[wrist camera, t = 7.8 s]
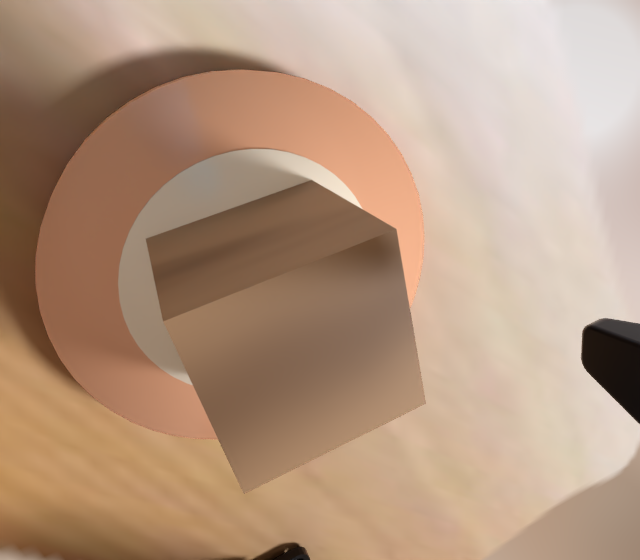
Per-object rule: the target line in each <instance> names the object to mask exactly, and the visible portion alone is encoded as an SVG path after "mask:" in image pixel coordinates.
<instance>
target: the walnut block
mask: <svg viewBox="0 0 640 560" xmlns="http://www.w3.org/2000/svg"><path fill="white" fill-rule="evenodd" d="M146 243H147V248H148V252H149V257H150V262H151V267H152V272H153V276H154V281H155V286H156V291H157V295H158V300H159V305H160V310H161V314H162V319H163V323H164V325H165V327H166V329H167V331H168V333H169V335H170V337H171V340H172V342H173V344H174V346H175V348H176V350H177V352H178V355H179V357H180V359H181V361H182V363H183V365H184V367H185V369H186V372H187V374H188V376H189V378H190V380H191V382H192V384H193V387H194V389H195V391H196V393H197V395H198V397H199V399H200V401H201V404H202V406H203V408H204V410H205V412H206V414H207V416H208V419H209V421H210V423H211V425H212V427H213V429H214V431H215V433H216V436H217V438H218V440H219V442H220V444H221V446H222V448H223V450H224V453H225V455H226V457H227V459H228V461H229V463H230V465H231V468H232V470H233V472H234V474H235V476H236V478H237V480H238V482H239V485H240V487H241V489H242V491H243V493H244V494H245V493H247V492H249V491H251V490H253V489H255V488H257V487H259V486H261V485H263V484H265V483H267V482H269V481H271V480H273V479H275V478H277V477H279V476H281V475H283V474H285V473H287V472H289V471H291V470H293V469H295V468H297V467H299V466H301V465H303V464H305V463H307V462H309V461H311V460H313V459H315V458H317V457H319V456H321V455H323V454H325V453H327V452H329V451H331V450H333V449H335V448H337V447H339V446H341V445H343V444H345V443H347V442H349V441H351V440H353V439H355V438H357V437H359V436H361V435H363V434H365V433H367V432H369V431H371V430H373V429H375V428H377V427H379V426H381V425H384V424H386V423H388V422H390V421H392V420H394V419H396V418H398V417H400V416H402V415H404V414H406V413H408V412H410V411H412V410H414V409H416V408H418V407H420V406H422V405H424V404H426V402H425V396H424V390H423V384H422V378H421V372H420V366H419V360H418V354H417V348H416V342H415V336H414V330H413V324H412V318H411V312H410V306H409V301H408V295H407V289H406V283H405V277H404V271H403V265H402V259H401V253H400V247H399V241H398V235H397V229H396V228H394V227H392V226H391V225H389V224H387V223H385V222H384V221H382V220H380V219H378V218H377V217H375V216H373V215H372V214H370V213H368V212H366V211H365V210H363V209H361V208H360V207H358V206H356V205H354V204H353V203H351V202H349V201H347V200H346V199H344V198H342V197H341V196H339V195H337V194H335V193H334V192H332V191H330V190H328V189H327V188H325V187H323V186H322V185H320V184H318V183H316V182H315V181H313V180H310V181H307V182H305V183H302V184H299V185H296V186H293V187H290V188H288V189H285V190H282V191H279V192H276V193H273V194H271V195H268V196H265V197H262V198H259V199H257V200H254V201H251V202H248V203H245V204H242V205H240V206H237V207H234V208H231V209H228V210H226V211H223V212H220V213H217V214H214V215H211V216H209V217H206V218H203V219H200V220H197V221H194V222H192V223H189V224H186V225H183V226H180V227H178V228H175V229H172V230H169V231H166V232H163V233H161V234H158V235H155V236H152V237H149V238H147V239H146Z"/></svg>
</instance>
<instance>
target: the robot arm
mask: <svg viewBox="0 0 640 560" xmlns="http://www.w3.org/2000/svg"><path fill="white" fill-rule="evenodd" d="M581 360H582V364H583V366H584V368H585V369H586V371H587V372H588V373H589V374H590V375H591V376H592V377H593V378H594V379H595V380H596V381H597V382H598V383H599V384H600V385H601V386H602V387H603V388H604V389H605V390H606V391H607V392H608V393H609V394H610V395H611V396H612V397H613V398H614V399H615V400H616V401H617V402H618V403H619V404H620V405H621V406H622V407H623V408H624V409H625V410H626V411H627V412H628V413H629V414H630V415H631V416H632V417H633V418H634V419H635V420H636V421H637V422H638V423H639V424H640V324H638V323H632V322H626V321H620V320H614V319H607V318H603V319H599V320H597V321H595V322H593V323H591V324H589V325H587V326H586V327H585V328H584V329H583V333H582V353H581ZM273 560H310V558H309V556H308V553H307V551H306V549H305V548H304V547H296V548H294V549H292V550H290V551H288V552H286V553H284V554H283V555H281V556H279V557H277V558H275V559H273Z"/></svg>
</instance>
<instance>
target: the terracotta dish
mask: <svg viewBox="0 0 640 560" xmlns="http://www.w3.org/2000/svg"><path fill="white" fill-rule="evenodd" d="M310 180H313V181H315V182H316V183H318V184H320V185H322V186H323V187H325V188H327V189H328V190H330V191H332V192H334V193H335V194H337V195H339V196H341V197H342V198H344V199H346V200H347V201H349V202H351V203H353V204H354V205H356V206H358V207H360V208H361V209H363V210H365V211H366V212H368V213H370V214H372V215H373V216H375V217H377V218H378V219H380V220H382V221H384V222H385V223H387V224H389V225H391V226H392V227H394V228H396V229H397V235H398V241H399V247H400V253H401V259H402V265H403V271H404V277H405V283H406V289H407V295H408V301H409V306H410V307H411V305H412V302H413V300H414V297H415V294H416V290H417V287H418V283H419V280H420V275H421V269H422V263H423V255H424V225H423V214H422V209H421V204H420V199H419V194H418V191H417V188H416V186H415V183H414V180H413V177H412V174H411V172H410V170H409V168H408V166H407V164H406V162H405V160H404V158H403V156H402V154H401V152H400V151H399V150H398V148H397V147H396V145H395V144H394V142H393V141H392V140H391V138H390V137H389V135H388V134H387V133H386V132H385V131H384V130H383V129H382V128H381V126H380V125H379V124H378V123H377V122H376V121H375V120H374V119H373V118H372V117H371V116H370V115H369V114H367V113H366V112H365V111H363V110H362V109H361V108H360V107H358V106H357V105H356V104H355V103H353V102H352V101H350V100H349V99H347V98H345V97H343V96H342V95H340V94H338V93H337V92H335V91H333V90H331V89H330V88H327V87H324V86H322V85H319V84H317V83H314V82H312V81H309V80H307V79H304V78H300V77H295V76H291V75H287V74H282V73H278V72H267V71H255V70H240V69H237V70H220V71H209V72H204V73H199V74H194V75H190V76H185V77H181V78H178V79H176V80H173V81H170V82H167V83H165V84H162V85H159V86H156V87H154V88H152V89H150V90H149V91H147V92H145V93H143V94H141V95H139V96H137V97H136V98H134V99H132V100H130V101H128V102H127V103H126V104H124V105H123V106H122V107H120V108H119V109H118V110H116V111H115V112H114V113H112V114H111V115H110V116H108V117H107V118H106V119H105V120H104V121H103V122H102V123H101V124H100V125H99V126H98V127H97V128H96V129H95V130H94V131H93V132H92V133H91V134H90V135H89V136H88V137H87V138H86V139H85V140H84V141H83V143H82V144H81V145H80V147H79V148H78V149H77V151H76V152H75V154H74V155H73V156H72V158H71V159H70V160H69V162H68V163H67V165H66V167H65V169H64V171H63V173H62V175H61V177H60V178H59V180H58V182H57V184H56V186H55V188H54V190H53V193H52V195H51V197H50V200H49V203H48V206H47V209H46V212H45V215H44V218H43V221H42V224H41V227H40V232H39V238H38V244H37V250H36V263H35V285H36V291H37V297H38V304H39V310H40V314H41V317H42V320H43V323H44V326H45V329H46V332H47V335H48V337H49V339H50V341H51V343H52V345H53V347H54V349H55V351H56V353H57V355H58V356H59V358H60V360H61V361H62V363H63V364H64V365H65V367H66V368H67V369H68V371H69V372H70V373H71V375H72V376H73V378H74V379H75V380H76V381H77V382H78V383H79V384H80V385H81V386H82V387H83V388H84V389H85V390H86V391H87V392H88V393H89V394H90V395H91V396H92V397H93V398H95V399H96V400H97V401H99V402H100V403H101V404H103V405H104V406H105V407H107V408H108V409H110V410H111V411H113V412H114V413H116V414H118V415H120V416H122V417H123V418H125V419H127V420H129V421H131V422H133V423H135V424H138V425H141V426H143V427H146V428H148V429H151V430H153V431H157V432H161V433H165V434H169V435H173V436H179V437H186V438H194V439H218V438H217V436H216V433H215V431H214V429H213V427H212V425H211V423H210V421H209V419H208V416H207V414H206V412H205V410H204V408H203V406H202V404H201V401H200V399H199V397H198V395H197V393H196V391H195V389H194V387H193V384H192V382H191V380H190V378H189V376H188V374H187V372H186V369H185V367H184V365H183V363H182V361H181V359H180V357H179V355H178V352H177V350H176V348H175V346H174V344H173V342H172V340H171V337H170V335H169V333H168V331H167V329H166V327H165V325H164V323H163V319H162V314H161V310H160V305H159V300H158V295H157V291H156V286H155V281H154V276H153V272H152V267H151V262H150V257H149V252H148V248H147V243H146V239H147V238H149V237H152V236H155V235H158V234H161V233H163V232H166V231H169V230H172V229H175V228H178V227H180V226H183V225H186V224H189V223H192V222H194V221H197V220H200V219H203V218H206V217H209V216H211V215H214V214H217V213H220V212H223V211H226V210H228V209H231V208H234V207H237V206H240V205H242V204H245V203H248V202H251V201H254V200H257V199H259V198H262V197H265V196H268V195H271V194H273V193H276V192H279V191H282V190H285V189H288V188H290V187H293V186H296V185H299V184H302V183H305V182H307V181H310Z"/></svg>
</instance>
